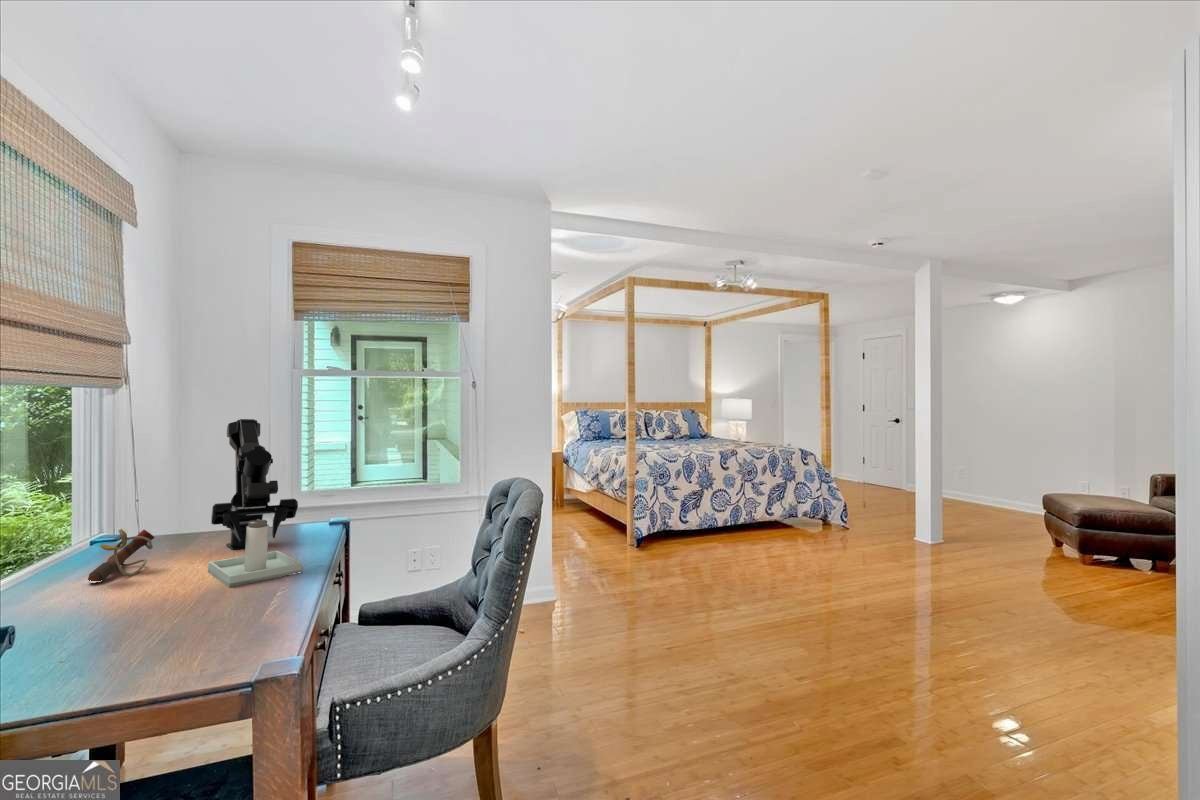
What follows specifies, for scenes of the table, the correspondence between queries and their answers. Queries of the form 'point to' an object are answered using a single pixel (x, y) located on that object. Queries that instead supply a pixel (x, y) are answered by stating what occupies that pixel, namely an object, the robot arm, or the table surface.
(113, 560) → the slingshot
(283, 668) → the table surface
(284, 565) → the bin
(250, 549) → the jar with lid
